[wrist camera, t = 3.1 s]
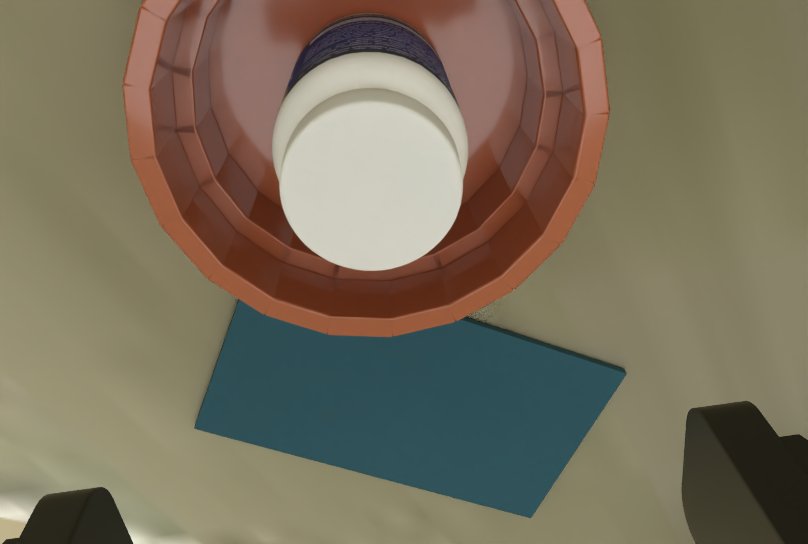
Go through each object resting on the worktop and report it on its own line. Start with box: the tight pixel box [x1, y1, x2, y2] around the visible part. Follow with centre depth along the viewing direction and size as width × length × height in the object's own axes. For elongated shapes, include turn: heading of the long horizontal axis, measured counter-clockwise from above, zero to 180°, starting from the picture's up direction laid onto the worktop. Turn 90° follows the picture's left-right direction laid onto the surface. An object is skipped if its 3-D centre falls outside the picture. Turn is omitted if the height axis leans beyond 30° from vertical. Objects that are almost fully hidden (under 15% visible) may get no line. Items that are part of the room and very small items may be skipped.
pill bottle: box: [272, 13, 468, 271], centre depth 23 cm, size 6×6×10 cm
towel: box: [194, 299, 626, 518], centre depth 34 cm, size 18×10×1 cm, turn 68°
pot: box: [123, 0, 610, 337], centre depth 25 cm, size 15×15×6 cm
